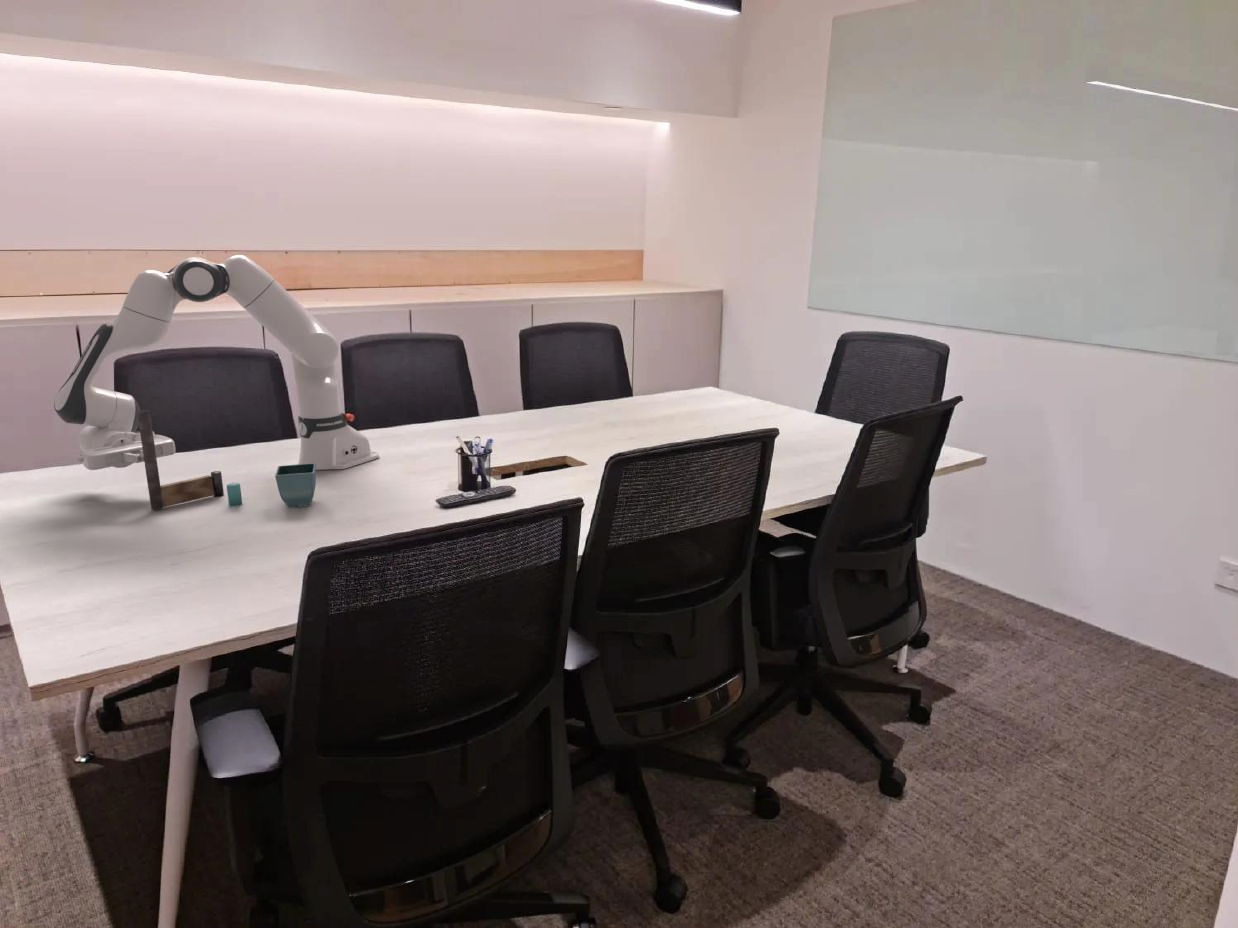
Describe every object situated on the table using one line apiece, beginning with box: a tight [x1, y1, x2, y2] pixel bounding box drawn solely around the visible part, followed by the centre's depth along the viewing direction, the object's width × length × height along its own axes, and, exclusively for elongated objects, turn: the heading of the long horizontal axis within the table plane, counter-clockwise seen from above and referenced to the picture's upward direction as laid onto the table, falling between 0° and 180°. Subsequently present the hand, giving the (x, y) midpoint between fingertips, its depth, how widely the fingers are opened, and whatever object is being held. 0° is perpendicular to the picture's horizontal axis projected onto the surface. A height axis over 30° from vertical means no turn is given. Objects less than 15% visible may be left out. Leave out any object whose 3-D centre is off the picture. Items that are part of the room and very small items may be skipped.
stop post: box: [226, 482, 243, 507], centre depth 215 cm, size 3×3×5 cm
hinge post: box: [210, 470, 225, 498], centre depth 222 cm, size 2×2×6 cm
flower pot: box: [274, 463, 317, 508], centre depth 215 cm, size 9×9×9 cm
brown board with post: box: [137, 409, 214, 511], centre depth 213 cm, size 15×3×24 cm, turn 140°
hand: (143, 458), depth 211 cm, fingers closed
